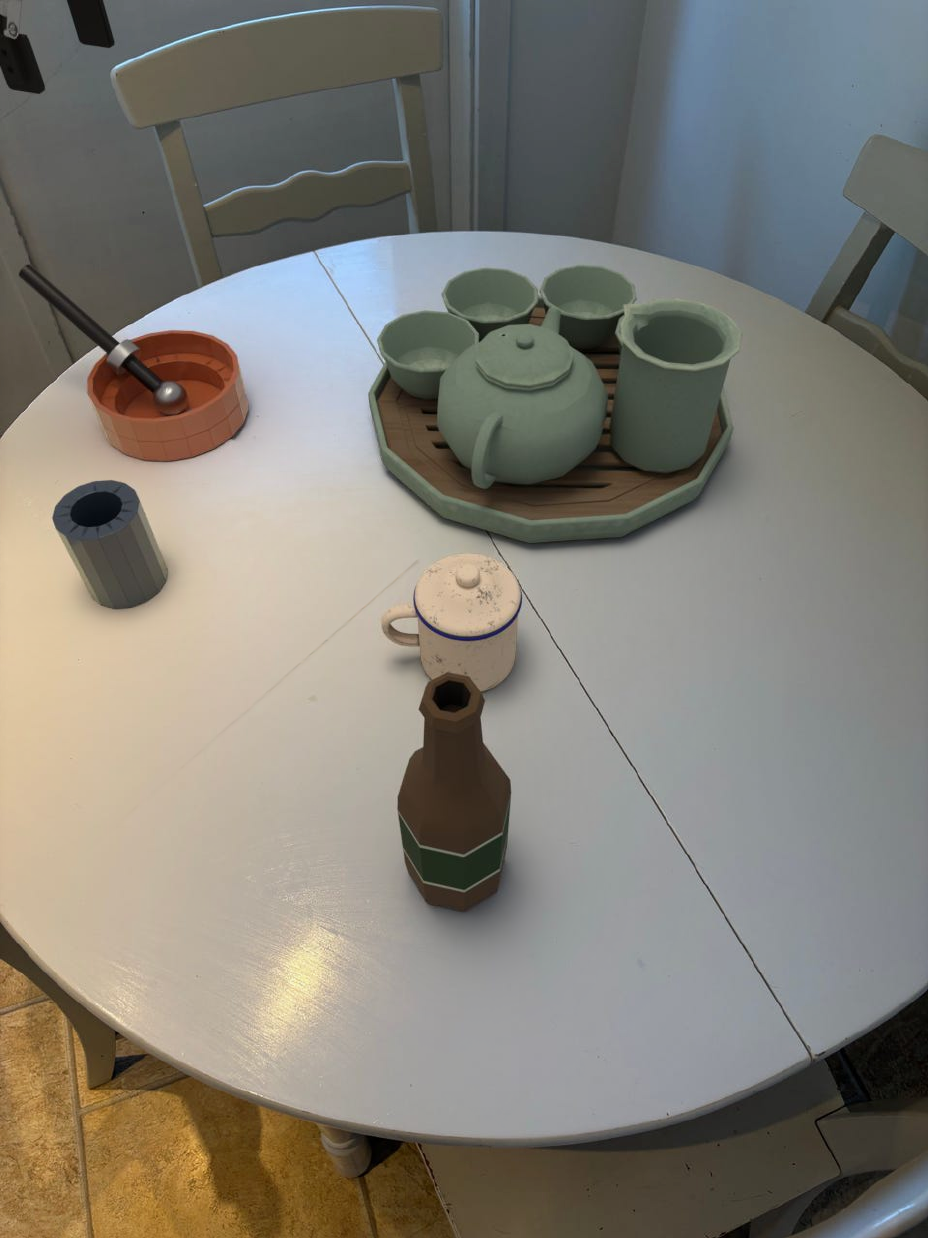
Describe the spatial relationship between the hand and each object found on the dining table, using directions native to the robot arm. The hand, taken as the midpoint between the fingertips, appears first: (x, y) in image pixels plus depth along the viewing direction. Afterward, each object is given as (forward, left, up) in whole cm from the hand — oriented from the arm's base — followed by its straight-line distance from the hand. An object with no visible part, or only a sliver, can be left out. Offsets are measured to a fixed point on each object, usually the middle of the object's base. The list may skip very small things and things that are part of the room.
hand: (64, 66), depth 73 cm
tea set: (+33, +26, -36) cm, 56 cm away
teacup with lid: (+46, -6, -36) cm, 59 cm away
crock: (+16, -19, -36) cm, 44 cm away
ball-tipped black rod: (+1, 0, -35) cm, 35 cm away
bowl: (0, 0, -36) cm, 36 cm away
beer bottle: (+59, -21, -36) cm, 73 cm away
